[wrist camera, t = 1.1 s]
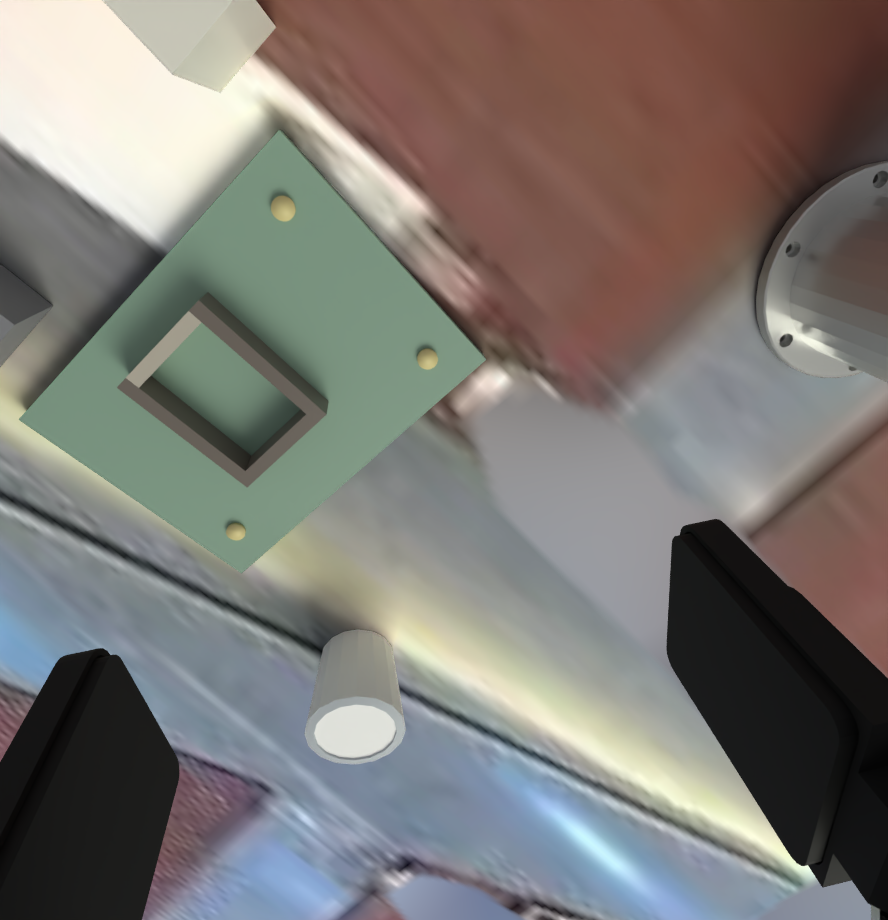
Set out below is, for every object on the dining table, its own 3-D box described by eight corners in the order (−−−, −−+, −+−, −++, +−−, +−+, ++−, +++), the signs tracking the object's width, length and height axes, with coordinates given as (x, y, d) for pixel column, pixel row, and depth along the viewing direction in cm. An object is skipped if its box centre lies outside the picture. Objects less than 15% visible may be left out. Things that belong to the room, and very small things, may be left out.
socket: (208, 291, 32) (198, 300, 30) (328, 401, 36) (326, 414, 34) (129, 375, 34) (116, 387, 32) (252, 471, 37) (247, 487, 35)
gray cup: (294, 657, 46) (282, 736, 40) (358, 608, 45) (356, 682, 38) (356, 699, 49) (354, 778, 43) (418, 655, 47) (426, 730, 41)
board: (281, 130, 30) (278, 129, 29) (483, 354, 36) (486, 361, 35) (27, 412, 35) (15, 421, 34) (244, 564, 42) (240, 576, 40)
